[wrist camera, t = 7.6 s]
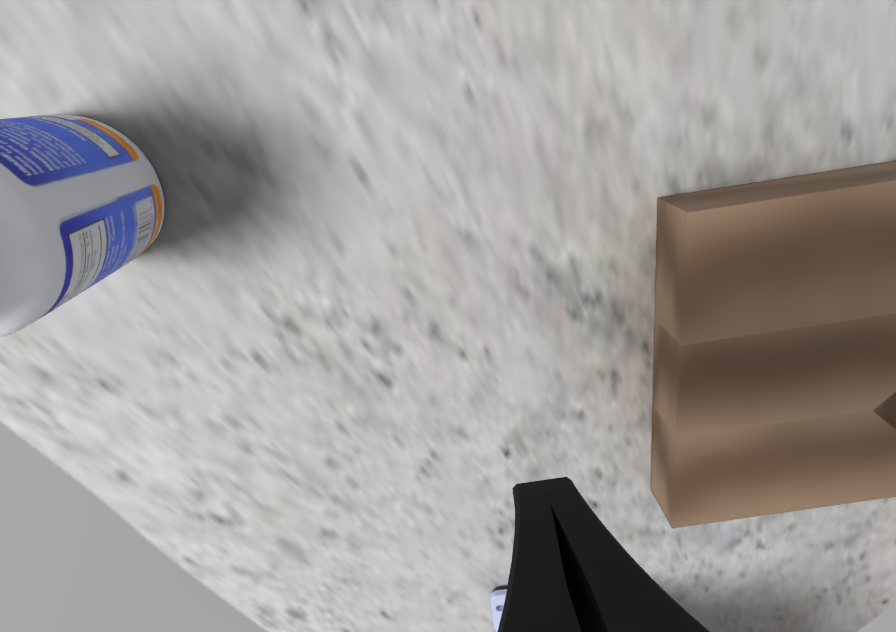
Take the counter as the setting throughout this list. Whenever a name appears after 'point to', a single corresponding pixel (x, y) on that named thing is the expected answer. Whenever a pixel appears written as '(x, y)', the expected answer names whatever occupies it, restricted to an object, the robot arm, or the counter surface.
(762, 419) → the walnut plate
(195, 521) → the counter surface
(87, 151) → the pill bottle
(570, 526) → the robot arm
